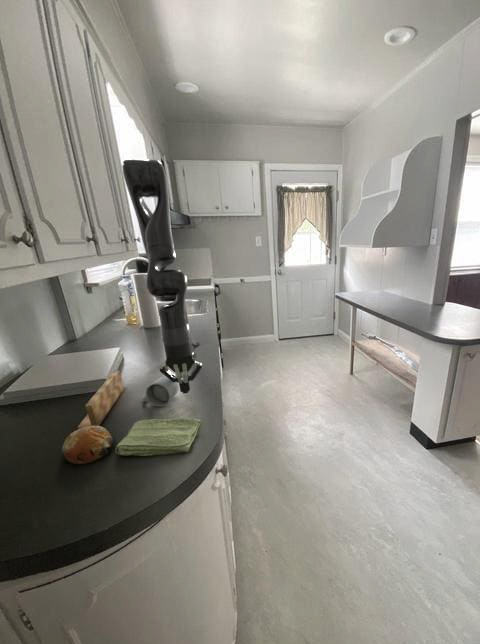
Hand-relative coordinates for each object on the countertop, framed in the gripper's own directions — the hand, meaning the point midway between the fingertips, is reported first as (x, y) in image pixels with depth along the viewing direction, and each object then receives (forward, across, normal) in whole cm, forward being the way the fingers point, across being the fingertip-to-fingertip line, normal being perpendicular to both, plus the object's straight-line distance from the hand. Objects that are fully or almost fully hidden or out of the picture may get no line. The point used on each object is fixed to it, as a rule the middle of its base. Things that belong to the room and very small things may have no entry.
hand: (185, 392), depth 96 cm
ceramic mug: (+2, +8, 0) cm, 8 cm away
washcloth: (+2, +4, +22) cm, 22 cm away
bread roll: (+2, +20, +23) cm, 30 cm away
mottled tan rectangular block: (+2, +24, 0) cm, 25 cm away
